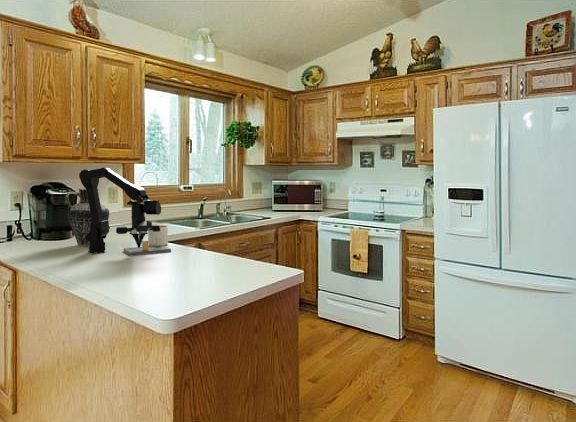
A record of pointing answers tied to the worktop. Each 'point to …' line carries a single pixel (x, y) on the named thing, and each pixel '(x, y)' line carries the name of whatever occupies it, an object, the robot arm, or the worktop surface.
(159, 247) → the grey rectangular panel
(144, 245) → the fader
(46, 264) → the worktop surface
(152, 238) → the cup
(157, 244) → the fader
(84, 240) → the dark patterned vase
